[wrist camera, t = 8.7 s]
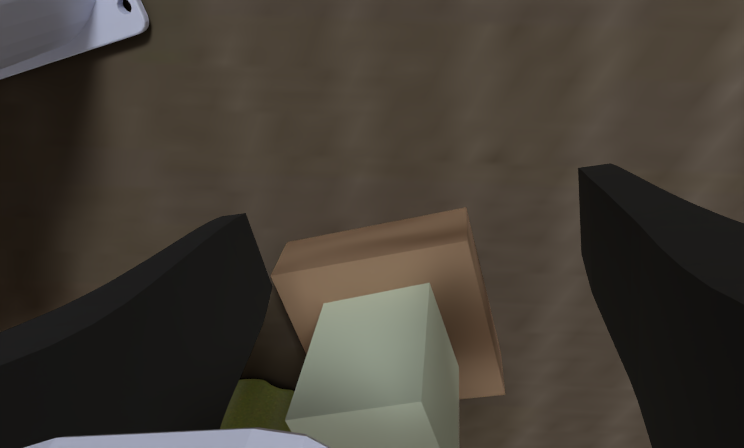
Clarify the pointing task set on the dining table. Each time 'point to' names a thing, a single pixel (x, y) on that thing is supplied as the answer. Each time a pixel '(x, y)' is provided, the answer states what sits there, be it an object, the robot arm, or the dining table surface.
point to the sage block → (379, 374)
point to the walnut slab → (400, 284)
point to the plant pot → (258, 406)
